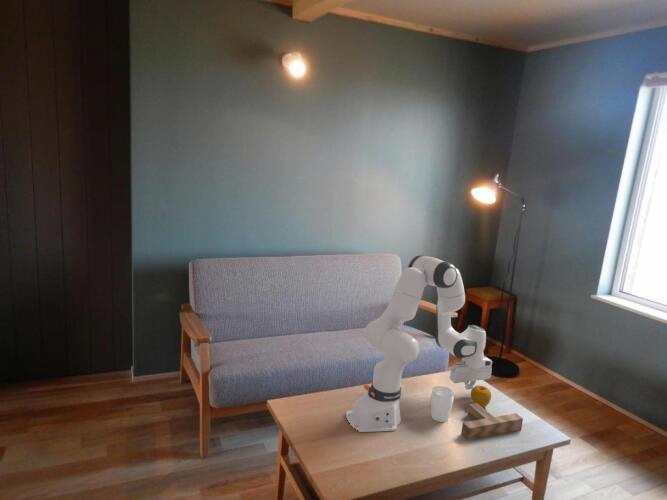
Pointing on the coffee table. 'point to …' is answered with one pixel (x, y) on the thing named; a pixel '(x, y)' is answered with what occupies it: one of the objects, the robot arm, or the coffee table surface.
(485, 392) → the apple
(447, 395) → the cup
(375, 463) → the coffee table surface
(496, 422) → the t block
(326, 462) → the coffee table surface
